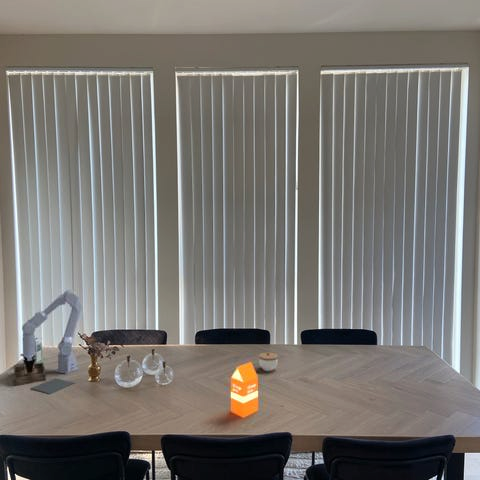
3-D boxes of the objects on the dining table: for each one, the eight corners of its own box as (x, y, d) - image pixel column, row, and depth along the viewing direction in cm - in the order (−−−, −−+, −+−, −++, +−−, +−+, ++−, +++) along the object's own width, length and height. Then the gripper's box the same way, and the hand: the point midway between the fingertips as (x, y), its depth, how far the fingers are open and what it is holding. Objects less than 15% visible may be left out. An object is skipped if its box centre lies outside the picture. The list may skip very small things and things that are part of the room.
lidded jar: (257, 371, 205) (256, 354, 205) (260, 365, 216) (260, 348, 216) (276, 373, 203) (276, 356, 203) (279, 366, 213) (279, 350, 213)
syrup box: (36, 365, 218) (36, 340, 218) (26, 365, 219) (26, 340, 218) (42, 361, 224) (41, 337, 224) (32, 361, 224) (32, 337, 224)
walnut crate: (43, 368, 213) (42, 362, 213) (45, 380, 196) (45, 373, 196) (14, 373, 206) (14, 367, 206) (14, 386, 189) (14, 379, 189)
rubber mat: (74, 383, 191) (74, 382, 191) (49, 394, 179) (49, 393, 179) (55, 379, 197) (55, 378, 197) (30, 389, 185) (30, 388, 185)
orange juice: (230, 411, 160) (230, 364, 160) (245, 404, 166) (245, 359, 166) (243, 417, 154) (243, 369, 154) (258, 410, 161) (258, 364, 160)
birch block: (33, 369, 204) (33, 360, 204) (34, 372, 200) (34, 362, 200) (24, 371, 202) (24, 361, 202) (24, 373, 198) (24, 364, 198)
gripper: (20, 342, 205) (20, 367, 205) (20, 349, 192) (20, 376, 193) (34, 340, 208) (35, 365, 209) (36, 347, 196) (36, 373, 196)
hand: (29, 370), depth 201 cm, fingers open, 7 cm apart
